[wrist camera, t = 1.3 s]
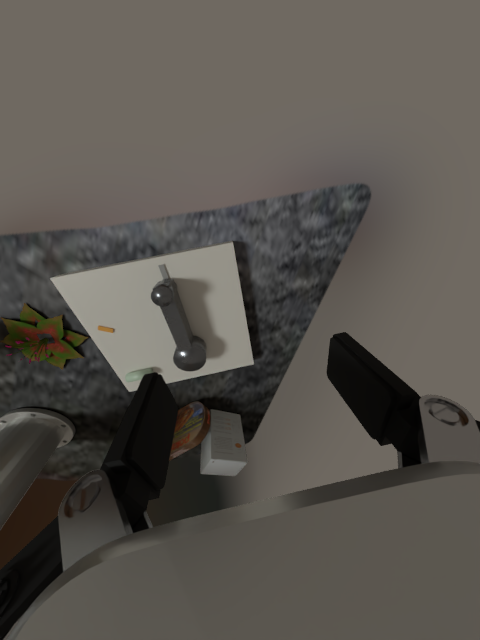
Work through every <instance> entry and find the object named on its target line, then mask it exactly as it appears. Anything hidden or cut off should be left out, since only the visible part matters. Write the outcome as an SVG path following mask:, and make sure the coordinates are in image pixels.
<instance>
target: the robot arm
mask: <svg viewBox="0 0 480 640" xmlns="http://www.w3.org/2000/svg"><path fill="white" fill-rule="evenodd" d="M327 376H328V378H329V380H330V381H331V383H332V384H333V385H334V387H335V388H336V390H337V391H338V392H339V394H340V395H341V397H342V398H343V399H344V401H345V402H346V403H347V405H348V406H349V407H350V409H351V410H352V412H353V413H354V414H355V416H356V417H357V418H358V420H359V421H360V423H361V424H362V426H363V427H364V428H365V430H366V431H367V432H368V434H369V435H370V436H371V437H372V438H373V439H376V440H377V441H378V443H379V444H380V445H381V446H383V445H387V444H393V445H394V447H395V448H396V449H397V453H398V469H394V470H389V471H384V472H380V473H375V474H371V475H367V476H362V477H358V478H354V479H350V480H345V481H341V482H337V483H333V484H328V485H324V486H320V487H315V488H312V489H307V490H303V491H298V492H294V493H290V494H286V495H282V496H278V497H273V498H269V499H265V500H261V501H257V502H252V503H248V504H244V505H241V506H236V507H232V508H228V509H224V510H220V511H215V512H211V513H207V514H203V515H199V516H195V517H191V518H187V519H183V520H179V521H175V522H171V523H168V524H164V525H160V526H156V527H153V526H152V524H151V522H150V519H149V517H148V515H147V513H146V509H147V504H148V500H152V499H156V498H159V495H160V489H162V488H163V487H164V485H165V480H166V475H167V469H168V464H169V458H170V453H171V448H172V442H173V437H174V431H175V426H176V420H177V415H178V406H177V404H176V402H175V400H174V398H173V396H172V394H171V392H170V390H169V388H168V386H167V385H166V383H165V381H164V379H163V377H162V375H161V374H158V373H157V372H154V373H149V374H145V375H144V376H143V378H142V380H141V382H140V384H139V387H138V389H137V391H136V393H135V395H134V398H133V400H132V402H131V404H130V406H129V407H128V409H127V411H126V413H125V416H124V418H123V420H122V422H121V424H120V427H119V429H118V431H117V433H116V436H115V438H114V440H113V442H112V444H111V447H110V449H109V451H108V453H107V455H106V458H105V460H104V462H103V464H102V466H101V469H100V470H94V471H91V472H89V473H87V474H86V475H84V476H83V477H81V478H80V479H79V480H78V481H77V482H76V483H75V484H74V485H73V486H72V487H71V489H70V490H69V491H68V492H67V494H66V496H65V497H64V499H63V501H62V503H61V506H60V508H59V513H58V516H57V517H56V518H55V519H54V520H53V521H52V522H51V523H50V524H49V525H48V526H47V527H46V528H45V529H43V530H42V531H41V532H40V533H39V534H38V535H37V536H36V537H35V538H34V539H33V540H32V541H31V542H30V543H29V544H27V546H25V547H24V548H23V549H22V550H21V551H20V552H19V553H18V554H17V555H16V556H15V557H14V558H13V559H12V560H10V562H8V563H7V564H6V565H5V566H4V567H3V568H2V569H1V570H0V640H480V422H479V421H477V420H475V419H474V418H473V416H472V415H471V414H470V413H469V412H468V411H467V410H466V409H465V408H464V407H462V406H461V405H460V404H458V403H456V402H454V401H452V400H450V399H448V398H445V397H442V396H437V395H425V396H422V397H420V396H419V395H418V394H417V393H416V392H415V391H414V390H413V389H412V388H410V387H409V386H408V385H407V384H406V383H405V382H404V381H402V380H401V379H400V378H399V377H398V376H397V375H395V374H394V373H393V372H392V371H391V370H390V369H388V368H387V367H386V366H385V365H384V364H383V363H381V362H380V361H379V360H378V359H377V358H375V357H374V356H373V355H372V354H371V353H370V352H368V351H367V350H366V349H365V348H364V347H363V346H361V345H360V344H359V343H358V342H357V341H355V340H354V339H353V338H352V337H351V336H349V335H348V334H347V333H346V332H343V333H339V334H334V335H333V338H331V339H330V346H329V356H328V365H327ZM75 431H76V430H75V426H74V425H73V423H72V422H71V421H70V420H69V419H68V418H66V417H65V416H63V415H61V414H59V413H56V412H54V411H50V410H46V409H40V408H21V409H16V410H12V411H10V412H8V413H6V414H5V415H4V416H2V417H1V418H0V530H1V528H2V527H3V525H4V524H5V522H6V521H7V519H8V518H9V516H10V514H11V513H12V512H13V510H14V509H15V508H16V506H17V504H18V503H19V502H20V500H21V499H22V497H23V496H24V494H25V493H26V491H27V490H28V489H29V487H30V486H31V484H32V483H33V481H34V480H35V478H36V477H37V476H38V474H39V473H40V471H41V470H42V468H43V467H44V465H45V464H46V462H47V461H48V459H49V458H50V457H51V455H52V454H53V452H54V451H55V449H56V448H58V447H61V446H63V445H66V444H67V443H69V442H70V441H71V439H72V438H73V436H74V435H75Z"/></svg>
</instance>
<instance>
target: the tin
mask: <svg viewBox="0 0 480 640" xmlns="http://www.w3.org/2000/svg"><path fill="white" fill-rule="evenodd" d="M210 423H211V415H210V411H209V409H208V408H207V407H206V406H204V405H203V404H202V403H201V402H199V401H195V402H191V403H190V404H188V405H186V406H185V407H183V408H181V409H180V410H178V415H177V420H176V426H175V431H174V437H173V442H172V448H171V453H170V458H169V461H170V460H172V459H173V458H175V457H177V456H179V455H181V454H183V453H184V452H186V451H188V450H190V449H192V448H194V447H195V446H197V445H199V444H200V443H201V442H202V441H203V439H204V438H205V437H206V435H207V433H208V431H209V428H210Z"/></svg>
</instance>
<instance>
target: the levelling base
mask: <svg viewBox="0 0 480 640" xmlns="http://www.w3.org/2000/svg"><path fill="white" fill-rule="evenodd" d="M50 279H51V281H52V282H53V283H54V285H55V286H56V288H57V289H58V291H59V292H60V294H61V295H62V296H63V298H64V299H65V301H66V302H67V304H68V305H69V306H70V308H71V309H72V311H73V312H74V314H75V315H76V316H77V318H78V319H79V321H80V322H81V324H82V325H83V326H84V328H85V329H86V331H87V332H88V334H89V335H90V336H91V338H92V339H93V341H94V342H95V344H96V345H97V347H98V348H99V349H100V351H101V352H102V354H103V355H104V357H105V358H106V359H107V361H108V362H109V364H110V365H111V367H112V368H113V369H114V371H115V372H116V374H117V375H118V377H119V378H120V379H121V381H122V382H123V384H124V385H125V387H126V388H127V389H128V391H129V392H131V391H135V390H137V389H138V387H139V384H140V382H141V380H142V378H143V376H144V375H145V374H149V373H154V372H157V373H158V374H161V375H162V377H163V379H164V381H165V383H166V384H167V383H171V382H176V381H180V380H185V379H189V378H194V377H198V376H203V375H207V374H212V373H216V372H221V371H225V370H230V369H234V368H239V367H243V366H248V365H252V364H254V361H253V356H252V350H251V344H250V338H249V332H248V327H247V321H246V315H245V309H244V303H243V298H242V292H241V286H240V280H239V274H238V268H237V263H236V257H235V251H234V245H233V242H232V241H228V242H223V243H218V244H213V245H208V246H203V247H198V248H193V249H188V250H182V251H177V252H172V253H167V254H162V255H157V256H152V257H147V258H142V259H137V260H132V261H127V262H122V263H116V264H111V265H106V266H101V267H96V268H91V269H86V270H81V271H76V272H71V273H66V274H61V275H58V276H55V277H52V278H50ZM163 279H173V280H174V282H175V283H176V284H177V291H178V294H179V297H180V300H181V302H182V305H183V308H184V311H185V314H186V316H187V319H188V322H189V325H190V328H191V330H192V333H193V336H198V337H200V338H201V339H203V340H204V341H205V343H206V346H207V352H206V363H205V365H204V366H203V367H202V368H200V369H199V370H196V371H184V370H181V369H179V368H178V367H177V366H176V365H175V364H174V362H173V356H174V352H175V349H176V343H175V341H174V339H173V336H172V334H171V332H170V329H169V327H168V324H167V322H166V320H165V317H164V315H163V313H162V310H161V308H160V306H158V305H156V304H155V303H154V302H153V301H152V299H151V293H152V291H153V289H152V288H153V287H154V286H155V285H156V284H157V283H158V282H159V281H162V280H163Z"/></svg>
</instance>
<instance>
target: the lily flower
mask: <svg viewBox="0 0 480 640" xmlns="http://www.w3.org/2000/svg"><path fill="white" fill-rule="evenodd" d="M20 319H21V322H18V321H13V320H9V319H4V318H2V320H3V322H4V324H5V325H6V326H7V327H6V328H7V330H8V332H9V333H10V334H8V335H7V336H6V337H5V338H4V340H2V341H0V342H3V343H5V344H7V345H11V346H5V347H10V348H11V347H14V348H17V349H18V350H19V349H22V351H20V352H22V353H23V354H24V355H25V356H26V357H27V358H29V364H30V362H31V361H38V362H39V361H42V360H46V361H47V362H49V363H50V364H52V365H54V366H57V367H60V368H61V369H62V370H63V366H64V364H65V361H66V359H74V358H78V357H80V358H84V357H82V356H81V355H80V354H78V352H76V351H75V350H74V349H73V348H72V347H76V346H78V345H80V344H81V343H82V342H83V341H84V339H87V338H88V337H85V336H82V335H78V334H77V333H74V332H71V331H68V330H64V329H63V322H62V315H60V316H57V317H54V318H49V319H45V318H43V317H42V316H41V315H39V314H38V313H37V312H35V311H34V310H33V309H31V308H30V307H28V306H27V305H26V304H25V303H24V306H23V311H21V313H20ZM35 319H36V320H37V321H38V324H37V328H36V327H34V324H35ZM43 333H49V334H51V336H52V337H53V339H54V341H55V343H51V344H47V342H48V341H49V340H48V339H47V338H44V339H42V340H39V338H38V336H37V334H43ZM63 336H64V337H66V339H65V340H61V338H62V337H63ZM45 339H46V340H45ZM20 340H25V341H28V342H25V341H20ZM17 353H18V352H17ZM14 354H15V353H14ZM9 355H12V354H9ZM6 356H8V355H6ZM25 356H24V357H25ZM24 357H23V358H24ZM23 358H22V359H23ZM22 359H21V360H22Z"/></svg>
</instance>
